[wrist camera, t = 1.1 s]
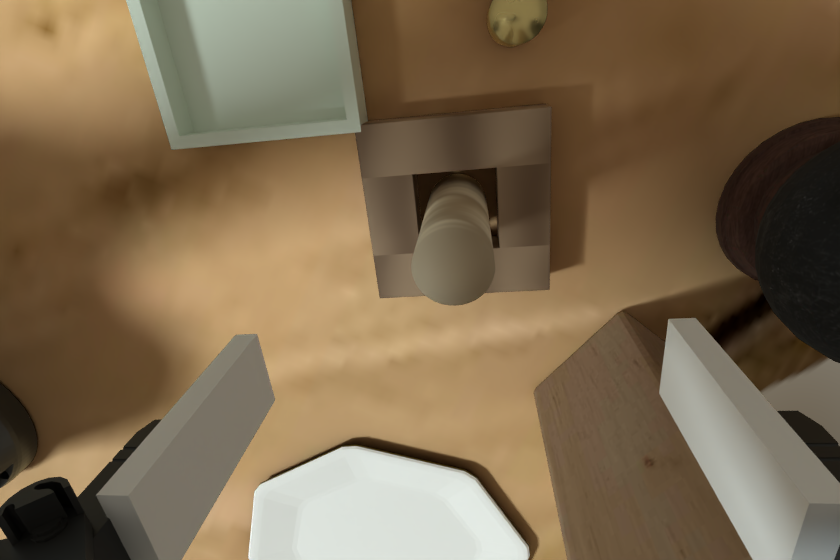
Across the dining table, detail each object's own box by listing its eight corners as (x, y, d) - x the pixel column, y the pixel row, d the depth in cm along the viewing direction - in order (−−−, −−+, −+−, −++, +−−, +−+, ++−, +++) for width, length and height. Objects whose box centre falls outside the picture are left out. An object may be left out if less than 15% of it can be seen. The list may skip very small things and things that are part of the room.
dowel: (432, 230, 35) (415, 307, 24) (426, 176, 33) (407, 231, 22) (487, 227, 34) (496, 303, 23) (484, 171, 33) (493, 225, 22)
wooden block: (620, 306, 36) (778, 555, 18) (712, 377, 38) (941, 669, 19) (530, 389, 40) (583, 664, 21) (617, 450, 41) (735, 751, 23)
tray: (191, 144, 34) (171, 149, 31) (128, -76, 28) (99, -88, 26) (368, 127, 32) (361, 132, 30) (336, -109, 27) (324, -125, 25)
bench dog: (487, 49, 29) (490, 47, 26) (485, -7, 28) (488, -17, 25) (537, 43, 29) (547, 41, 25) (537, -13, 28) (547, -25, 24)
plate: (203, 502, 50) (195, 514, 48) (425, 399, 42) (424, 410, 40) (356, 648, 58) (353, 662, 57) (566, 586, 50) (569, 601, 49)
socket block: (385, 283, 37) (379, 298, 34) (362, 121, 32) (354, 126, 30) (544, 275, 35) (549, 289, 33) (545, 103, 30) (551, 106, 28)
